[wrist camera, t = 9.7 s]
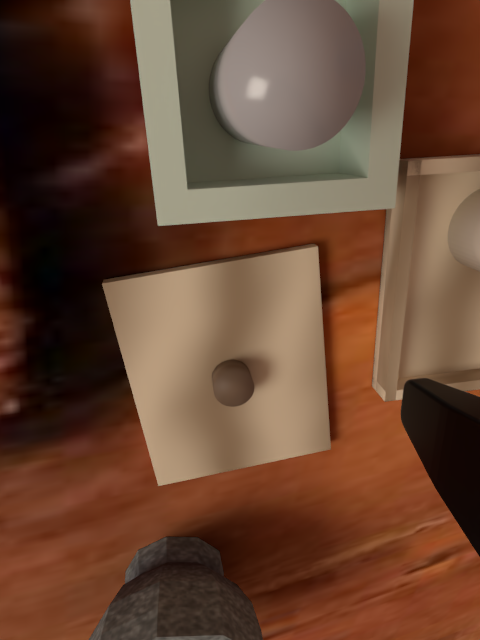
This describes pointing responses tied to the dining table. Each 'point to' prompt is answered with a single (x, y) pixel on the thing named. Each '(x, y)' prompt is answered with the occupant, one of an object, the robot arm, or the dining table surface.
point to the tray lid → (225, 360)
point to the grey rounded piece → (289, 75)
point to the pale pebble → (466, 232)
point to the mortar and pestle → (178, 597)
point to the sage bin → (252, 160)
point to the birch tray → (427, 282)
